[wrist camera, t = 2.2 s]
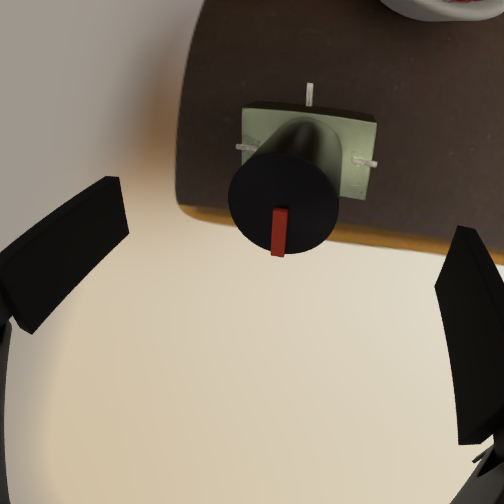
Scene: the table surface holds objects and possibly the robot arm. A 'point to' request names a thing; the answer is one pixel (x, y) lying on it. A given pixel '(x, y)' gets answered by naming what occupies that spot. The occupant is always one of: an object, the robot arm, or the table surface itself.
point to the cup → (447, 9)
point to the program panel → (340, 121)
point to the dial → (289, 188)
